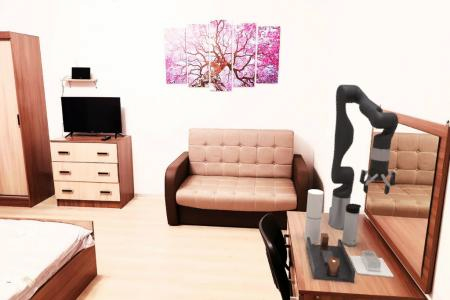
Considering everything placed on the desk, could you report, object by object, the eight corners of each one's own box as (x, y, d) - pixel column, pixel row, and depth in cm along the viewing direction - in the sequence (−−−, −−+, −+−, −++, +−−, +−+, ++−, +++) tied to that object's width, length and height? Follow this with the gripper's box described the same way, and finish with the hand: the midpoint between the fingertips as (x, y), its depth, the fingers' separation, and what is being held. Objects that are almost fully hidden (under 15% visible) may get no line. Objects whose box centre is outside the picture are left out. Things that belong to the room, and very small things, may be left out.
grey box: (361, 259, 144) (362, 249, 143) (373, 260, 143) (374, 250, 142) (367, 270, 135) (368, 260, 134) (379, 271, 134) (381, 261, 133)
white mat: (349, 256, 147) (349, 255, 147) (381, 259, 145) (382, 258, 145) (357, 274, 133) (357, 273, 133) (393, 277, 132) (393, 276, 131)
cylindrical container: (303, 241, 160) (307, 193, 154) (305, 235, 166) (309, 188, 161) (318, 244, 157) (322, 195, 152) (320, 238, 163) (324, 190, 158)
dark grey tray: (306, 246, 155) (307, 231, 153) (339, 249, 153) (341, 234, 151) (313, 278, 130) (315, 261, 128) (353, 282, 128) (355, 265, 126)
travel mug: (357, 247, 155) (362, 207, 151) (343, 245, 156) (347, 206, 152) (355, 241, 161) (359, 203, 157) (341, 239, 162) (345, 201, 158)
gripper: (393, 157, 146) (389, 191, 149) (360, 155, 147) (356, 189, 151) (400, 161, 138) (395, 197, 142) (365, 159, 140) (361, 195, 144)
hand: (375, 193), depth 146 cm, fingers open, 8 cm apart
